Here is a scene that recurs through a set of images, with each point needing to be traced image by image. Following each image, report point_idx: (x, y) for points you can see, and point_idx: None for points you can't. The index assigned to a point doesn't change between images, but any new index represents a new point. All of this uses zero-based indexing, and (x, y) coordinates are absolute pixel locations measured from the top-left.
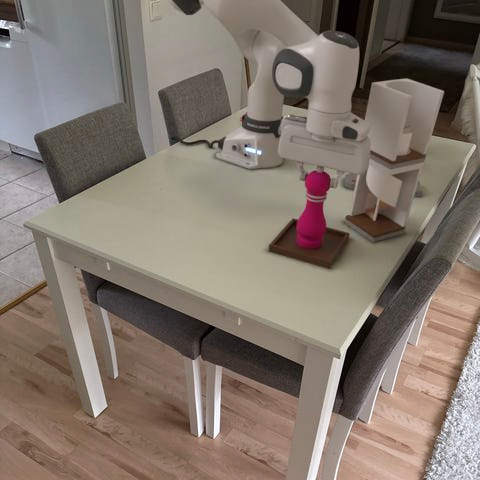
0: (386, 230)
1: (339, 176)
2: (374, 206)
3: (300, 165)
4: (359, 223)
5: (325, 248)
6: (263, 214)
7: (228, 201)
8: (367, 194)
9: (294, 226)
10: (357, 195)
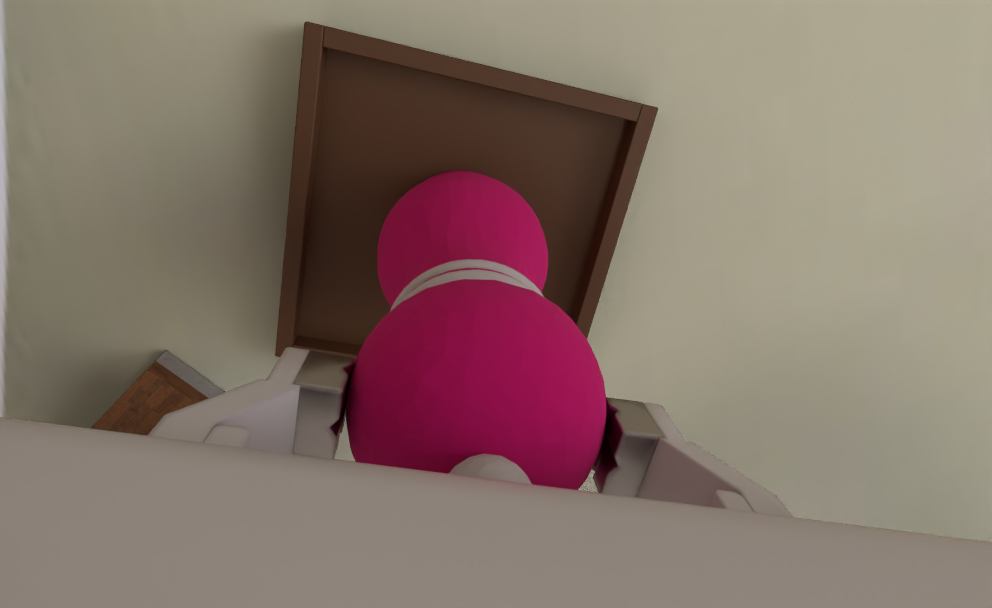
0: (103, 429)
1: (210, 409)
2: None
3: (729, 495)
4: None
5: (371, 205)
6: (693, 421)
7: (846, 472)
8: None
9: None
10: None
